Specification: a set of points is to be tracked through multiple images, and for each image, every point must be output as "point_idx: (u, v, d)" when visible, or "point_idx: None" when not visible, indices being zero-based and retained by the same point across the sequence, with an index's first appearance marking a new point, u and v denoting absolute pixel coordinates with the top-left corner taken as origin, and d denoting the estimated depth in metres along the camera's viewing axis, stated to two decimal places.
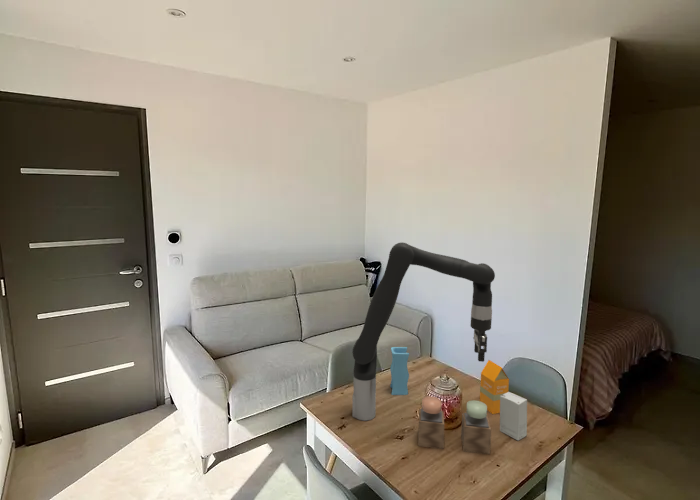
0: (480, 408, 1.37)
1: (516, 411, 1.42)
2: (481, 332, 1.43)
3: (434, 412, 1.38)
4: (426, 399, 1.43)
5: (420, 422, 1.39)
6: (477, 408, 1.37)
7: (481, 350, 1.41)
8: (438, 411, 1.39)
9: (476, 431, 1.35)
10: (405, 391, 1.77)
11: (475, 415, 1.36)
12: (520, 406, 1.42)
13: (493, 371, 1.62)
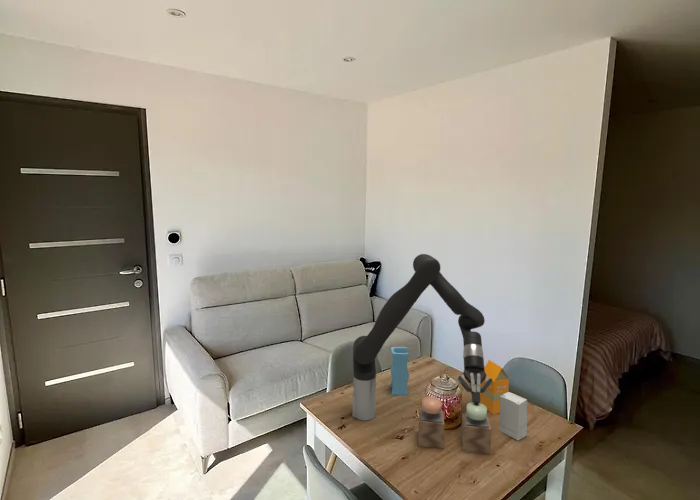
0: (480, 410, 1.37)
1: (516, 411, 1.42)
2: (484, 371, 1.46)
3: (434, 412, 1.38)
4: (426, 399, 1.43)
5: (420, 422, 1.39)
6: (477, 410, 1.37)
7: None
8: (438, 411, 1.39)
9: (476, 431, 1.35)
10: (405, 391, 1.77)
11: (475, 417, 1.36)
12: (520, 406, 1.42)
13: (493, 371, 1.62)
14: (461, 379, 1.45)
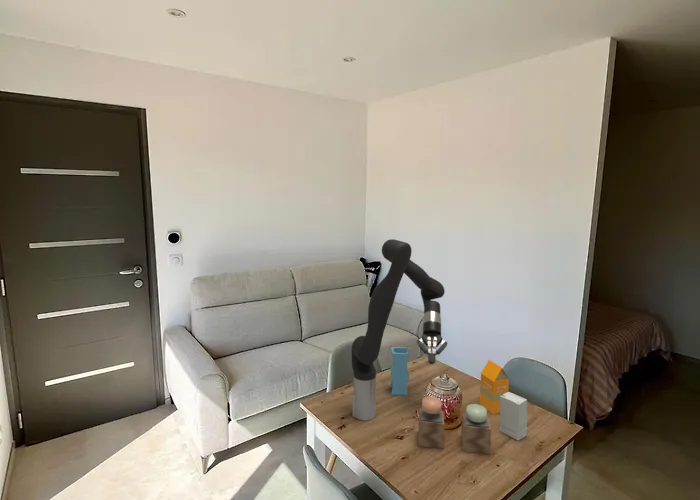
0: (480, 412, 1.37)
1: (516, 411, 1.42)
2: None
3: (434, 412, 1.38)
4: (426, 399, 1.43)
5: (420, 422, 1.39)
6: (477, 412, 1.37)
7: None
8: (438, 411, 1.39)
9: (476, 431, 1.35)
10: (405, 391, 1.77)
11: (475, 419, 1.36)
12: (520, 406, 1.42)
13: (493, 371, 1.62)
14: (419, 342, 1.58)
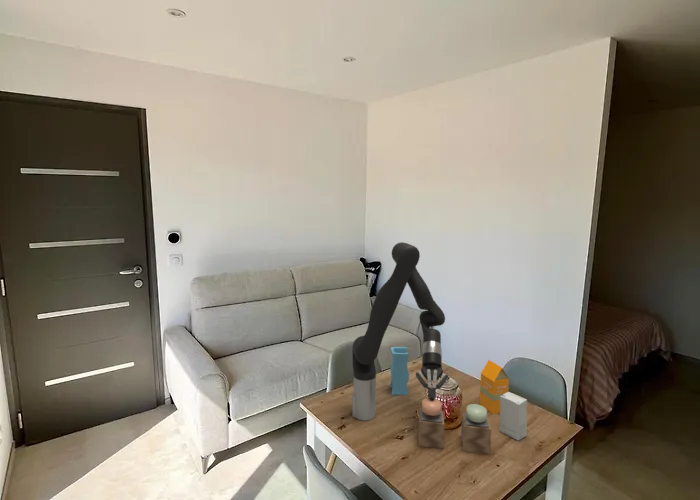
0: (480, 412, 1.37)
1: (516, 411, 1.42)
2: (441, 368, 1.49)
3: (434, 414, 1.39)
4: (426, 400, 1.43)
5: (420, 422, 1.39)
6: (477, 412, 1.37)
7: None
8: (438, 413, 1.39)
9: (476, 431, 1.35)
10: (405, 391, 1.77)
11: (475, 419, 1.36)
12: (520, 406, 1.42)
13: (493, 371, 1.62)
14: (418, 375, 1.48)
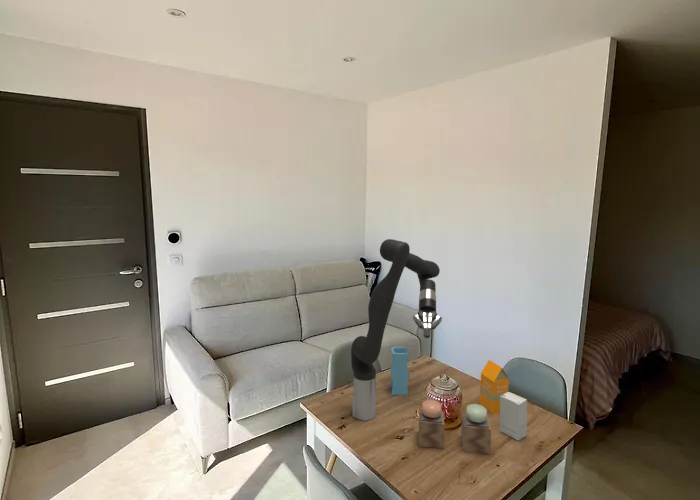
0: (480, 412, 1.37)
1: (516, 411, 1.42)
2: None
3: (434, 416, 1.39)
4: (426, 402, 1.43)
5: (420, 422, 1.39)
6: (477, 412, 1.37)
7: None
8: (438, 415, 1.39)
9: (476, 431, 1.35)
10: (405, 391, 1.77)
11: (475, 419, 1.36)
12: (520, 406, 1.42)
13: (493, 371, 1.62)
14: (415, 318, 1.66)
